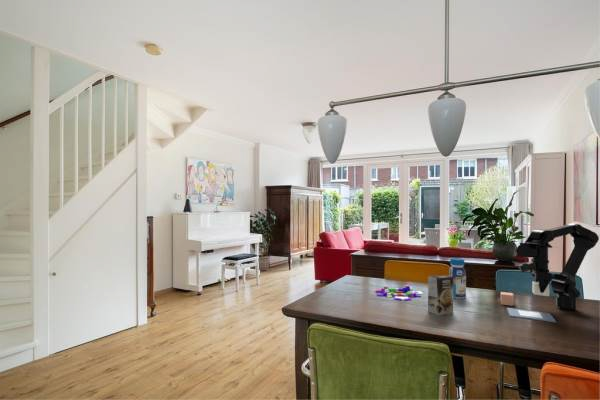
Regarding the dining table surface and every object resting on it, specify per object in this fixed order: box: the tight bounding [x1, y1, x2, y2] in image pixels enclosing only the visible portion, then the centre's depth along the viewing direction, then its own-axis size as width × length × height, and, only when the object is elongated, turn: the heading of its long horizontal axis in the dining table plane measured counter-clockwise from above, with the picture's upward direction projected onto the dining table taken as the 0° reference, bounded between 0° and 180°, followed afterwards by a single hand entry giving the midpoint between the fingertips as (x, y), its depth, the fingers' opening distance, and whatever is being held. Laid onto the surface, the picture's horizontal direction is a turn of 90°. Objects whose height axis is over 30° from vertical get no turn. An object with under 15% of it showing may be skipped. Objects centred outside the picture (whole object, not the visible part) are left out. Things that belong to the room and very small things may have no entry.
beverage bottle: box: [448, 257, 467, 300], centre depth 172 cm, size 8×8×20 cm
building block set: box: [375, 284, 424, 302], centre depth 174 cm, size 25×20×4 cm
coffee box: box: [427, 274, 454, 316], centre depth 146 cm, size 9×6×16 cm
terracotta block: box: [500, 291, 515, 307], centre depth 160 cm, size 5×5×5 cm
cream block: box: [531, 281, 550, 297], centre depth 151 cm, size 6×6×5 cm
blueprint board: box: [506, 307, 557, 323], centre depth 142 cm, size 16×12×1 cm
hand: (540, 291), depth 151 cm, fingers closed on cream block, 5 cm apart
